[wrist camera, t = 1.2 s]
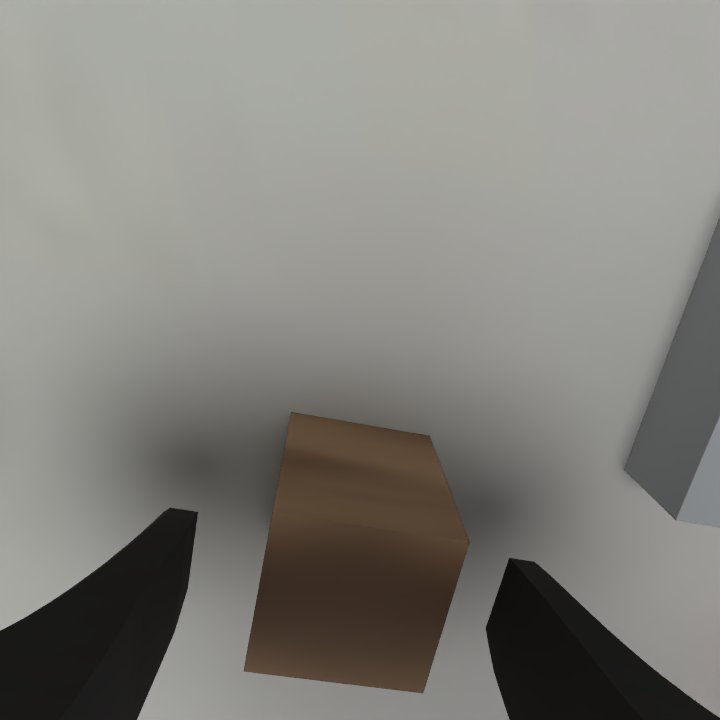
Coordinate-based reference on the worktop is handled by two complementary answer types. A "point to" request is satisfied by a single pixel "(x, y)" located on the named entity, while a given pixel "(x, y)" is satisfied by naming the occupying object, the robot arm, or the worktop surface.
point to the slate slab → (687, 410)
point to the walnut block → (356, 558)
